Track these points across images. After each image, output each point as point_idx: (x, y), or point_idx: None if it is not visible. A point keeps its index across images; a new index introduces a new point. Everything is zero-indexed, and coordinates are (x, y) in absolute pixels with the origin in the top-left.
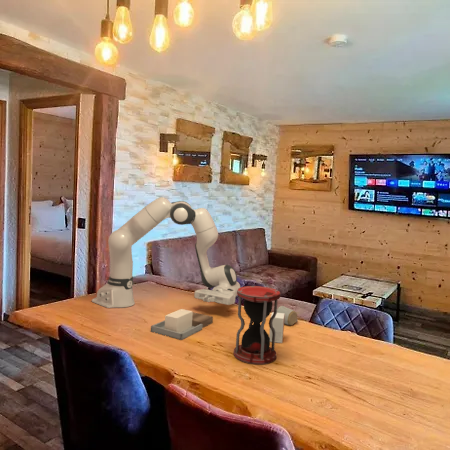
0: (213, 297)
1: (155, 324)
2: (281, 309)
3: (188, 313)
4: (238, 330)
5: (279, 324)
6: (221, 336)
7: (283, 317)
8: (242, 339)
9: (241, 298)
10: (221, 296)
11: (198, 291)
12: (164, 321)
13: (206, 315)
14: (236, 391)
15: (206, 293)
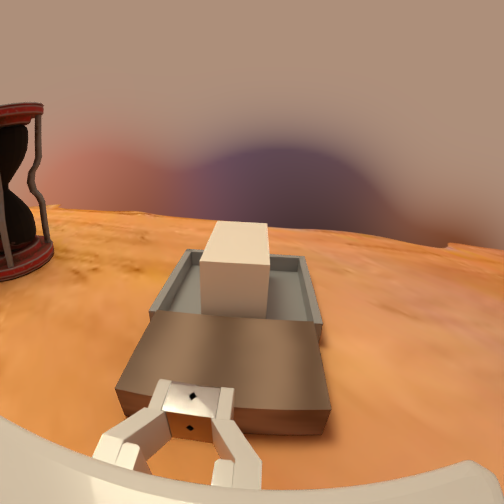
0: (109, 430)
1: (303, 264)
2: None
3: (205, 248)
4: (40, 193)
5: None
6: (72, 308)
7: None
8: (33, 218)
9: (35, 120)
10: (3, 420)
11: (441, 480)
12: (305, 286)
13: None
14: (68, 213)
15: (270, 494)
